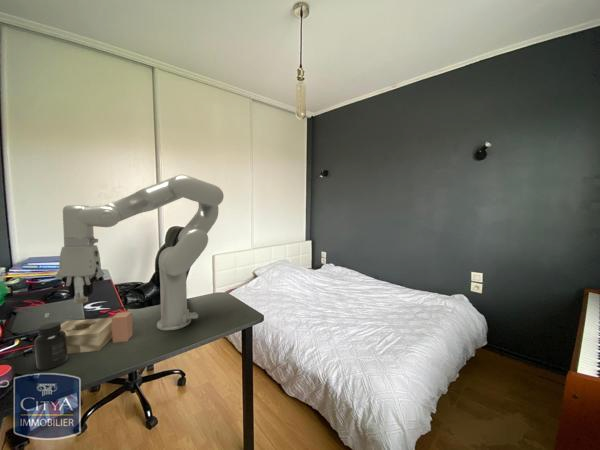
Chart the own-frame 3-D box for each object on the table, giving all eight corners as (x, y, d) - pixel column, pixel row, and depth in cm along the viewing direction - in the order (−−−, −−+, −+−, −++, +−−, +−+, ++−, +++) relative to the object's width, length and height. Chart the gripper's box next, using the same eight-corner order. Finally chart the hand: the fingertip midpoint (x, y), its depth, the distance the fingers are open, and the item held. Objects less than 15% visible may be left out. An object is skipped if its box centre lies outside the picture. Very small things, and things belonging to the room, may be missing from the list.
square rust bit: (132, 334, 94) (131, 311, 93) (127, 341, 90) (126, 316, 89) (119, 336, 93) (117, 312, 92) (112, 342, 89) (111, 317, 88)
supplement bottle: (68, 354, 81) (66, 318, 81) (67, 364, 76) (65, 326, 75) (37, 362, 77) (35, 324, 76) (34, 374, 72) (31, 333, 71)
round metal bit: (90, 299, 88) (89, 271, 87) (84, 303, 84) (83, 274, 84) (78, 300, 87) (77, 271, 86) (71, 304, 84) (70, 274, 83)
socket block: (117, 332, 95) (116, 317, 95) (99, 350, 84) (98, 333, 83) (67, 336, 92) (66, 320, 91) (41, 356, 80) (40, 338, 80)
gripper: (113, 240, 90) (114, 290, 91) (57, 240, 86) (59, 293, 87) (102, 243, 83) (103, 298, 84) (40, 244, 79) (43, 301, 80)
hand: (81, 295), depth 86 cm, fingers closed on round metal bit, 3 cm apart
